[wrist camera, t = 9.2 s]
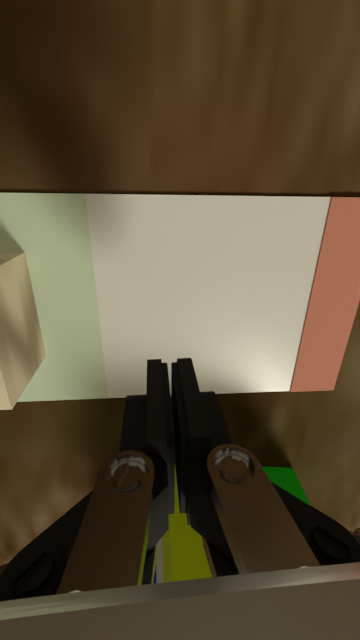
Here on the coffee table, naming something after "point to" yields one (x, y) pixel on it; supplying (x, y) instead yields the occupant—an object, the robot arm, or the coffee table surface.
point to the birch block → (17, 329)
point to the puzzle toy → (186, 544)
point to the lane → (165, 287)
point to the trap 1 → (331, 299)
